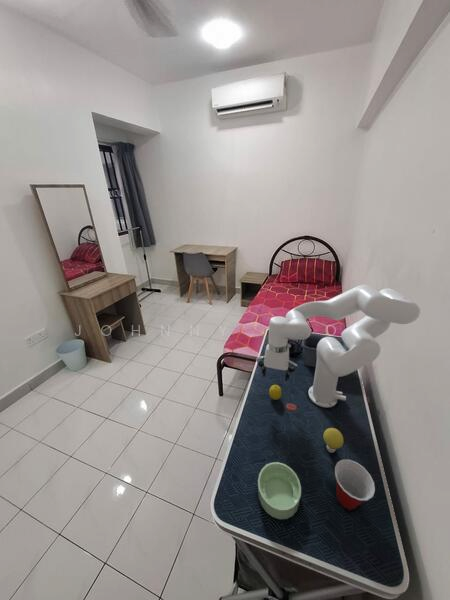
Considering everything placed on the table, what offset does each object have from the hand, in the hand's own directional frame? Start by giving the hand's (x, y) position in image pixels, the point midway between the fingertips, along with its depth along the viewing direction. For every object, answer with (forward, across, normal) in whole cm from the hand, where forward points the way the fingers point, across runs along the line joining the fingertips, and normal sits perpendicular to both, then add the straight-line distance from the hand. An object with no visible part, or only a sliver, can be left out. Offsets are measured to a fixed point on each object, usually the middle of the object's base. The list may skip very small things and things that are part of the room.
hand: (275, 376), depth 105 cm
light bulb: (+14, -24, +18) cm, 33 cm away
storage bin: (+14, -22, -31) cm, 40 cm away
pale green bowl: (+14, -6, +38) cm, 41 cm away
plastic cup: (+14, -28, +33) cm, 45 cm away
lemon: (+14, -1, 0) cm, 14 cm away
